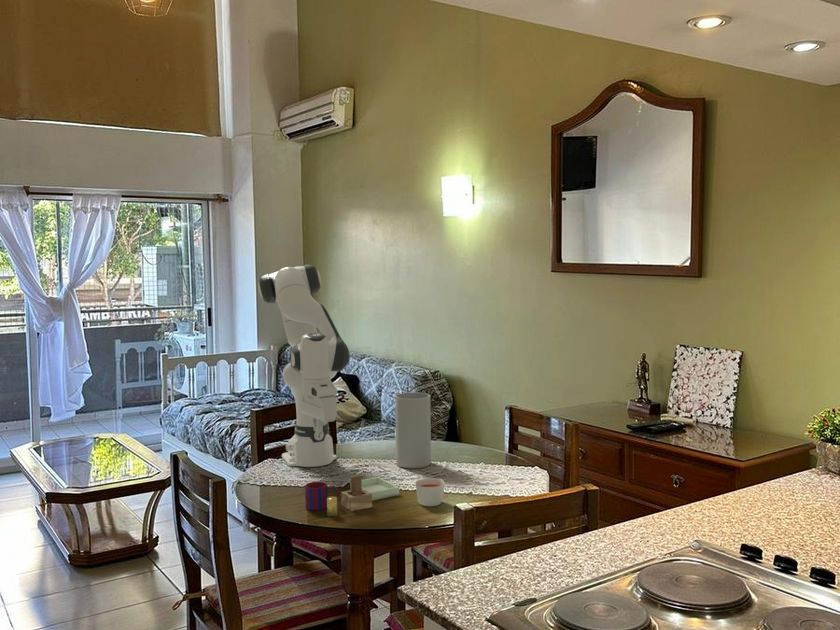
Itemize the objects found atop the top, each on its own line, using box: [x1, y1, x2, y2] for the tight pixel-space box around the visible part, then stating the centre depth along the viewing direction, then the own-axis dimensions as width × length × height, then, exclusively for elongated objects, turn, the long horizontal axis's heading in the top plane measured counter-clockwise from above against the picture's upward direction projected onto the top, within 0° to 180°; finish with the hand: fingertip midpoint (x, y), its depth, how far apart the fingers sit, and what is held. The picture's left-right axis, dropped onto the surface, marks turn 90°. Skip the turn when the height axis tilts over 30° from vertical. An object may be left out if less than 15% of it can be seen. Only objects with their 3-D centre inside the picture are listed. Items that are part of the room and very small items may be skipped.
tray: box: [349, 476, 400, 501], centre depth 245 cm, size 13×10×2 cm
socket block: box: [340, 489, 373, 512], centre depth 232 cm, size 7×7×4 cm
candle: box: [414, 477, 446, 507], centre depth 234 cm, size 9×9×6 cm
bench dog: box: [326, 496, 338, 517], centre depth 225 cm, size 3×3×5 cm
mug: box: [304, 481, 339, 511], centre depth 231 cm, size 7×10×7 cm
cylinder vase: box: [394, 391, 432, 470], centre depth 276 cm, size 12×12×25 cm
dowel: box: [350, 474, 362, 496], centre depth 232 cm, size 3×3×9 cm
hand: (318, 431), depth 235 cm, fingers closed
